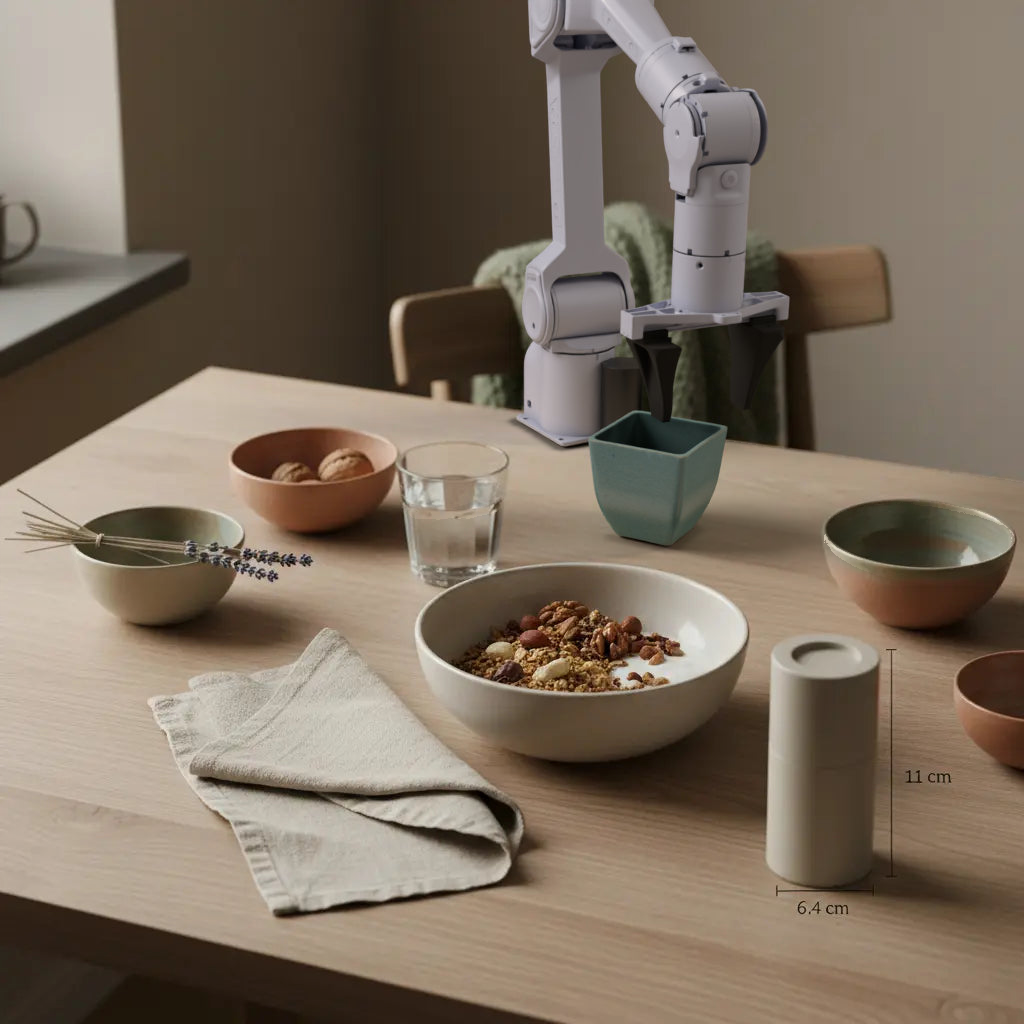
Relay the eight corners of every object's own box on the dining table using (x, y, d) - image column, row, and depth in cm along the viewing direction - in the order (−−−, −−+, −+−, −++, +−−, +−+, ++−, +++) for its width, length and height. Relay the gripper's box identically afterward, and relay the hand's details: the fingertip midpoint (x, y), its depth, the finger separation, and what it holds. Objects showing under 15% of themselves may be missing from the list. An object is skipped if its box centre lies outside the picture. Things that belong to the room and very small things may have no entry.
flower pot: (631, 504, 132) (634, 407, 129) (724, 524, 128) (730, 424, 125) (583, 539, 125) (585, 437, 122) (680, 562, 121) (685, 457, 118)
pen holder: (592, 439, 148) (593, 360, 145) (626, 432, 150) (628, 354, 147) (614, 451, 145) (616, 371, 142) (649, 444, 147) (652, 365, 143)
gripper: (653, 269, 113) (647, 440, 118) (815, 250, 118) (802, 414, 124) (609, 249, 119) (605, 413, 124) (766, 232, 124) (755, 390, 130)
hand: (701, 412), depth 124 cm, fingers open, 7 cm apart
